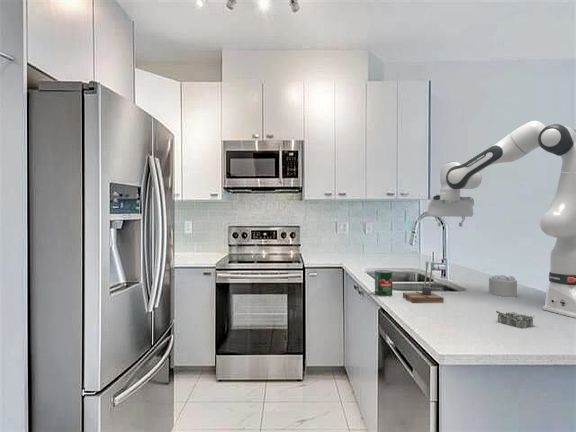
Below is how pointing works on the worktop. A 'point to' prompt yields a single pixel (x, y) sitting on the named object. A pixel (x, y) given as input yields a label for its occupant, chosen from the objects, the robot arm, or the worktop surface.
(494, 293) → the lumpy-topped squat cylinder
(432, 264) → the tongs
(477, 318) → the worktop surface
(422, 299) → the board
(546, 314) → the worktop surface
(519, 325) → the egg carton
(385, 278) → the canned tomato
